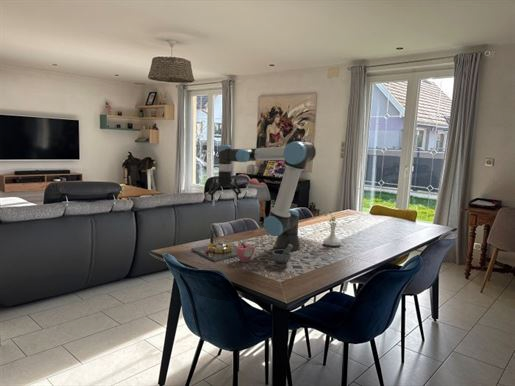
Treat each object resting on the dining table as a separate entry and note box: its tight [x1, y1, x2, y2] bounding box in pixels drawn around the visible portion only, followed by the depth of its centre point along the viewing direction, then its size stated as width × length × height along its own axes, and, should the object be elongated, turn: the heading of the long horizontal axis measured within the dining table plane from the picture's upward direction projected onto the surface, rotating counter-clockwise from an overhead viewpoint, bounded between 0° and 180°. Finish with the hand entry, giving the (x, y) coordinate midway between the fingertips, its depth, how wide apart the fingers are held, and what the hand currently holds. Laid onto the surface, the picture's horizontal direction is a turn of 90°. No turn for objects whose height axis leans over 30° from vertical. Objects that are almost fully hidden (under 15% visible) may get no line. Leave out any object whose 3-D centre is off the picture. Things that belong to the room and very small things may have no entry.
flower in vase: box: [322, 205, 342, 247], centre depth 236 cm, size 13×11×25 cm
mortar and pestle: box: [271, 244, 293, 268], centre depth 197 cm, size 11×9×12 cm
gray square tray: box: [190, 241, 239, 262], centre depth 217 cm, size 24×24×5 cm
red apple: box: [236, 242, 255, 263], centre depth 202 cm, size 10×9×10 cm
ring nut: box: [208, 228, 233, 253], centre depth 218 cm, size 16×13×10 cm
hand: (224, 205), depth 236 cm, fingers open, 13 cm apart
